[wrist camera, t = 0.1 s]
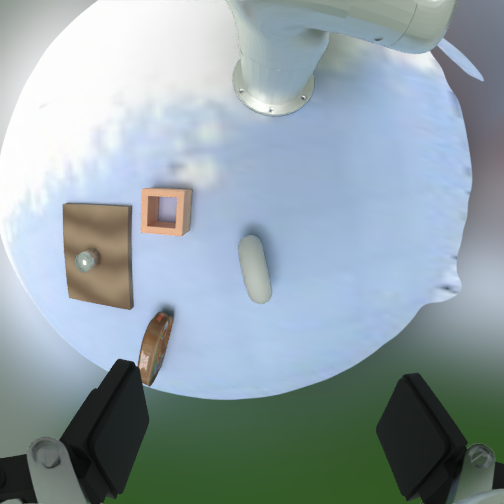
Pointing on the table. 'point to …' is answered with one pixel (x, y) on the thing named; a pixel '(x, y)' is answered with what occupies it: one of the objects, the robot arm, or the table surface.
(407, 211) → the table surface
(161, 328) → the tin
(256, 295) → the donut
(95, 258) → the domed metal cylinder
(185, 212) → the hollow square tube
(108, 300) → the board
